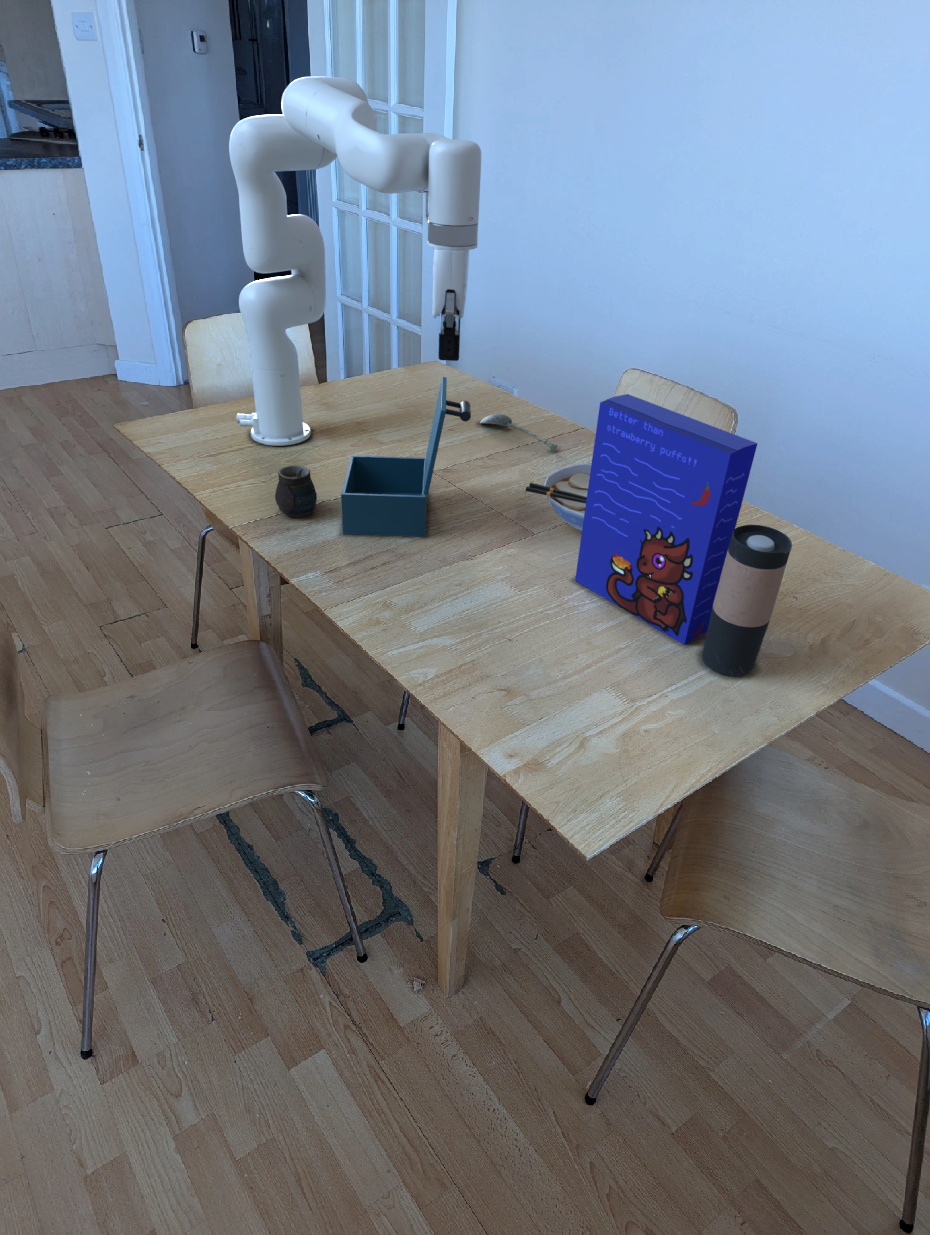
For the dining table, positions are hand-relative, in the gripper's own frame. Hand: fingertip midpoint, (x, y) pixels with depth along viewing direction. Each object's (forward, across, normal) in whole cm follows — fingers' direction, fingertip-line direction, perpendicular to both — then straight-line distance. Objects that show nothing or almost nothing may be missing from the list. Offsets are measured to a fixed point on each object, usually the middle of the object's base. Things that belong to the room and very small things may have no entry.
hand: (449, 350), depth 133 cm
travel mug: (+30, +41, +41) cm, 65 cm away
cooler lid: (+14, 0, -2) cm, 15 cm away
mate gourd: (+30, +1, -26) cm, 40 cm away
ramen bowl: (+30, +2, +29) cm, 42 cm away
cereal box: (+30, +27, +31) cm, 51 cm away
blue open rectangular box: (+30, 0, -10) cm, 32 cm away
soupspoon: (+30, -39, +15) cm, 52 cm away
